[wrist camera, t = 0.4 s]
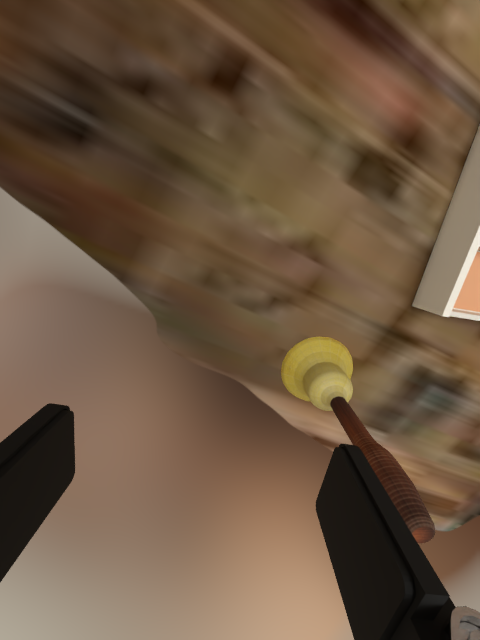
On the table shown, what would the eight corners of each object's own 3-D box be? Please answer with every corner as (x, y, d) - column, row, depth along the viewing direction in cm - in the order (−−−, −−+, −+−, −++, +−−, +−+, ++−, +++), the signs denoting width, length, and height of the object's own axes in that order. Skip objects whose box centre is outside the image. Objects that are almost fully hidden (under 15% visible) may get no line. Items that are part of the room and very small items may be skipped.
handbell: (350, 399, 44) (487, 585, 20) (281, 403, 44) (334, 592, 20) (355, 334, 40) (531, 464, 16) (280, 338, 40) (344, 474, 16)
